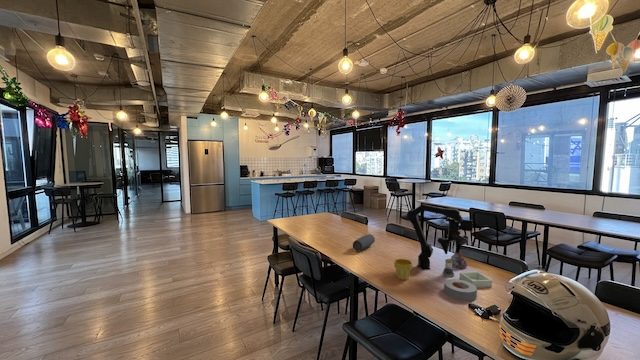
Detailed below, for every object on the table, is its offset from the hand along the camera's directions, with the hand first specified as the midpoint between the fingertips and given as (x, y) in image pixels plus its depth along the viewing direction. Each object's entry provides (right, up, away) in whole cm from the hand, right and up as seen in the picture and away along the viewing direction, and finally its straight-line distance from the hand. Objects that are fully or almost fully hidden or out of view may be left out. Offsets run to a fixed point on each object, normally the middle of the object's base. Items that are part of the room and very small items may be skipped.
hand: (451, 253), depth 167 cm
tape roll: (-8, -15, -25) cm, 30 cm away
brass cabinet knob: (-3, -11, -2) cm, 11 cm away
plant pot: (-33, -13, -6) cm, 36 cm away
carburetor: (+10, -12, +12) cm, 20 cm away
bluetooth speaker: (-48, -9, +45) cm, 66 cm away
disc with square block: (-3, -13, -2) cm, 13 cm away
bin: (+7, -14, -12) cm, 20 cm away
